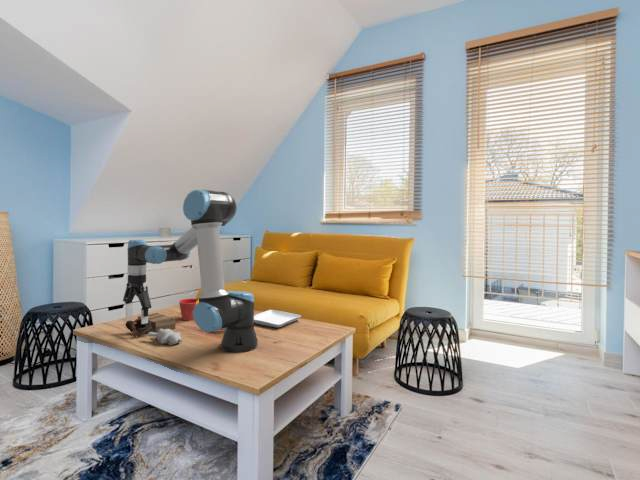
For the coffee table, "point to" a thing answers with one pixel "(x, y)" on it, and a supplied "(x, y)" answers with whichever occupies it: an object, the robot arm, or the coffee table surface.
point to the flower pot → (187, 308)
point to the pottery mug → (138, 327)
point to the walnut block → (160, 322)
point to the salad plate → (275, 318)
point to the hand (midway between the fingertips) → (136, 320)
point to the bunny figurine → (167, 336)
